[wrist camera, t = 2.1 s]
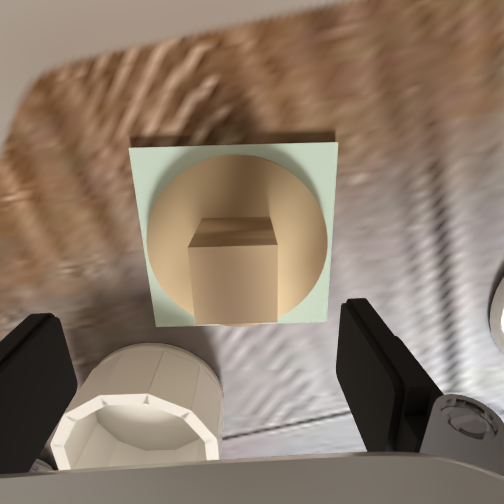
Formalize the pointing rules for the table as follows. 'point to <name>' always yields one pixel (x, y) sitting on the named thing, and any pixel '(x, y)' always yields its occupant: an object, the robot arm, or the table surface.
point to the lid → (237, 241)
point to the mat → (284, 154)
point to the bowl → (143, 411)
